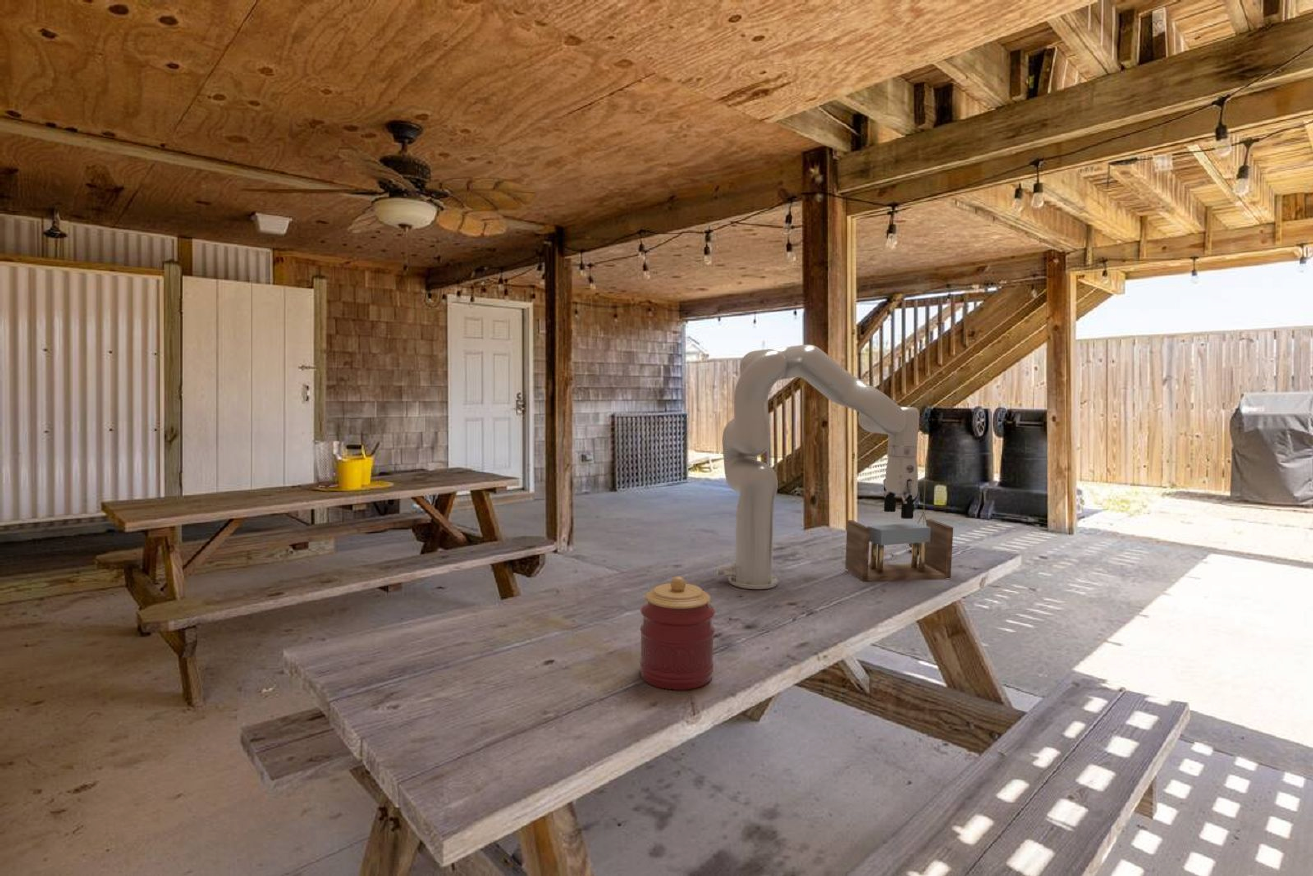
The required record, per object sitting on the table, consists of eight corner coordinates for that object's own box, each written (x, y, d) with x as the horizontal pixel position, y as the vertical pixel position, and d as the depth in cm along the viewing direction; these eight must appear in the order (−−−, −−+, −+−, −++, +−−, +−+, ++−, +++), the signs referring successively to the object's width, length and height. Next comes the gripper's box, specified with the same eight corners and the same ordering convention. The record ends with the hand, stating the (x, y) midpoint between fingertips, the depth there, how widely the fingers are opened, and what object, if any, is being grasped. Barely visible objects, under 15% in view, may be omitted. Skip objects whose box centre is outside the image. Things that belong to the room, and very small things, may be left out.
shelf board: (915, 537, 194) (915, 523, 193) (930, 541, 188) (930, 527, 188) (867, 540, 189) (867, 526, 188) (880, 545, 183) (881, 530, 183)
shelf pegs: (878, 573, 185) (879, 543, 185) (869, 567, 191) (870, 539, 190) (925, 572, 187) (927, 543, 186) (915, 566, 193) (916, 538, 192)
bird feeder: (907, 554, 212) (912, 457, 209) (906, 548, 220) (910, 454, 218) (938, 557, 209) (943, 458, 207) (936, 550, 217) (940, 455, 215)
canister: (676, 699, 112) (678, 592, 111) (624, 674, 121) (625, 575, 120) (728, 676, 121) (731, 578, 120) (676, 655, 130) (677, 563, 129)
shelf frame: (862, 580, 182) (864, 528, 181) (845, 569, 193) (847, 520, 192) (950, 578, 185) (953, 527, 184) (929, 567, 196) (931, 519, 195)
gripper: (931, 456, 178) (927, 521, 180) (899, 449, 195) (895, 509, 197) (904, 455, 177) (900, 521, 179) (874, 449, 194) (870, 509, 196)
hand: (898, 515), depth 188 cm, fingers open, 9 cm apart
